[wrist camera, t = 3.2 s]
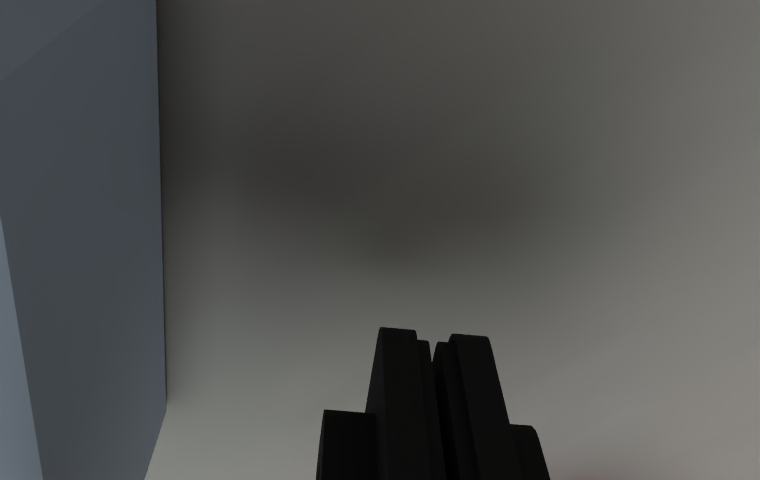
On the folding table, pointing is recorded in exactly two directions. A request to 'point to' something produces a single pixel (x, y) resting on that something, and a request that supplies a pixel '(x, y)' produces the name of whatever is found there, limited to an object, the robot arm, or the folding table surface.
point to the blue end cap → (80, 240)
